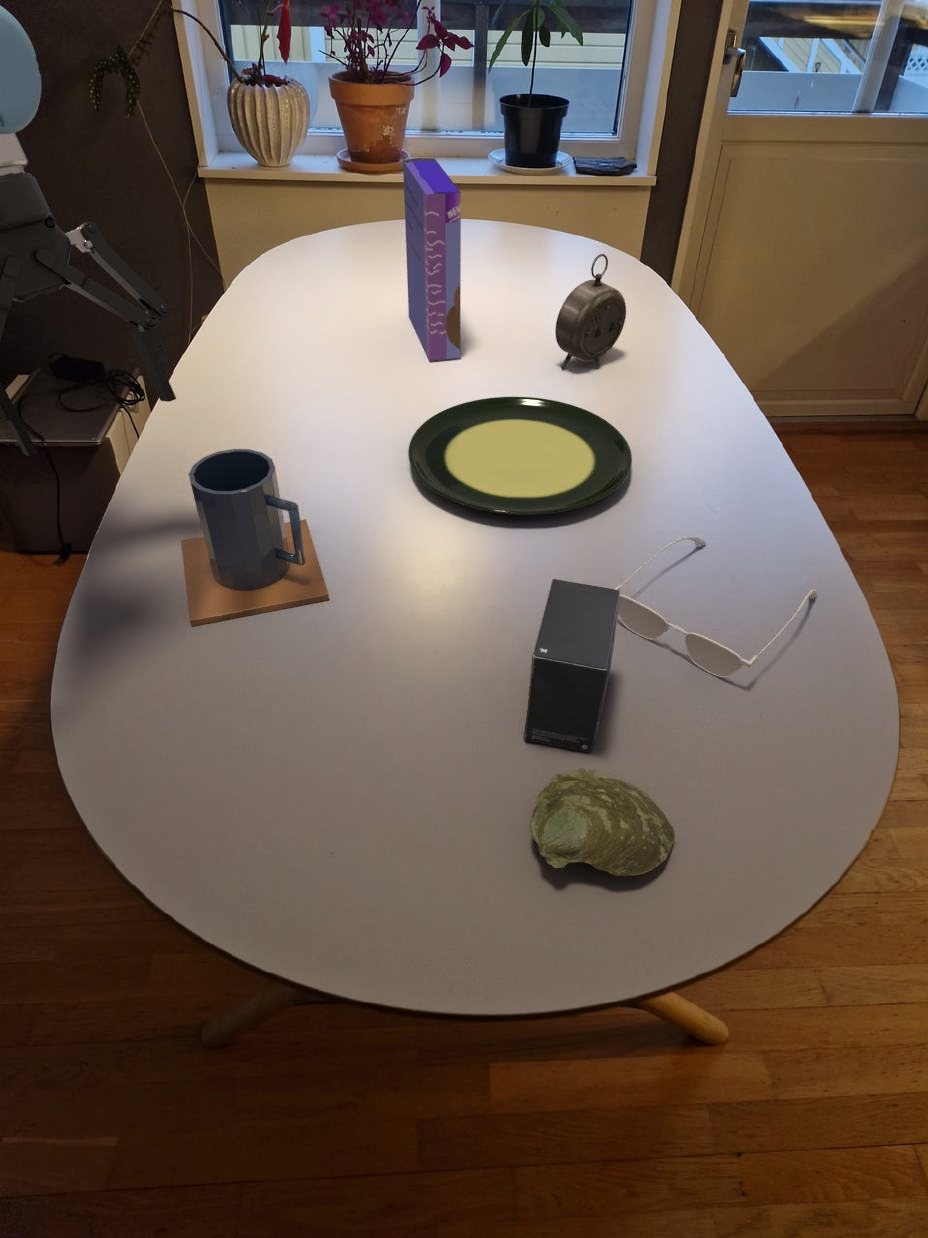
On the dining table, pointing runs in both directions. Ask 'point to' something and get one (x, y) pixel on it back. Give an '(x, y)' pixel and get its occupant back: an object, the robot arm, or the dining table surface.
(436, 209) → the cereal box
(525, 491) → the plate
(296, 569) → the cork mat
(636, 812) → the seashell
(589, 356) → the alarm clock
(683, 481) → the dining table surface
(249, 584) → the mug
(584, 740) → the small box
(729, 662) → the eyeglasses
